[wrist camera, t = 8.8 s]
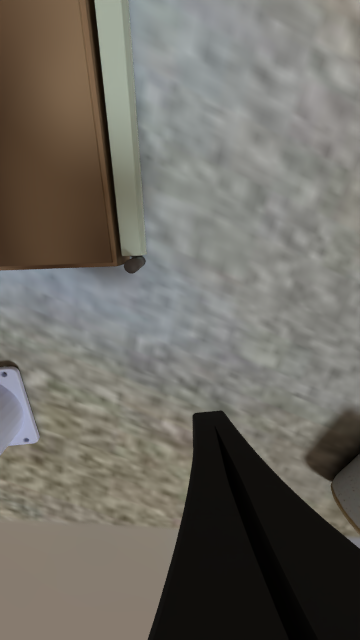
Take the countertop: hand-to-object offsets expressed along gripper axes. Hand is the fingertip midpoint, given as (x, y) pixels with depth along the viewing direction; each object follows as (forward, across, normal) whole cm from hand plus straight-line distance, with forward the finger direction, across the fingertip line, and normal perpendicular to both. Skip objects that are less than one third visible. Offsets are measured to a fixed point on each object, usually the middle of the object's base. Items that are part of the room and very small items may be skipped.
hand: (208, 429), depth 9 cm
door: (+9, +3, -15) cm, 17 cm away
